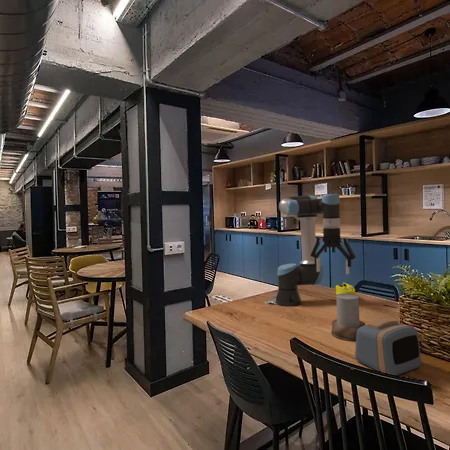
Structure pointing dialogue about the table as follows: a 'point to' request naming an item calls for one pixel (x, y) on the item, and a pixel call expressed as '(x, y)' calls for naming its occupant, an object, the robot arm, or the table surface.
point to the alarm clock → (388, 346)
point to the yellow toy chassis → (345, 289)
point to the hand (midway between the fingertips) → (332, 272)
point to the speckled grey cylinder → (348, 310)
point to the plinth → (345, 331)
